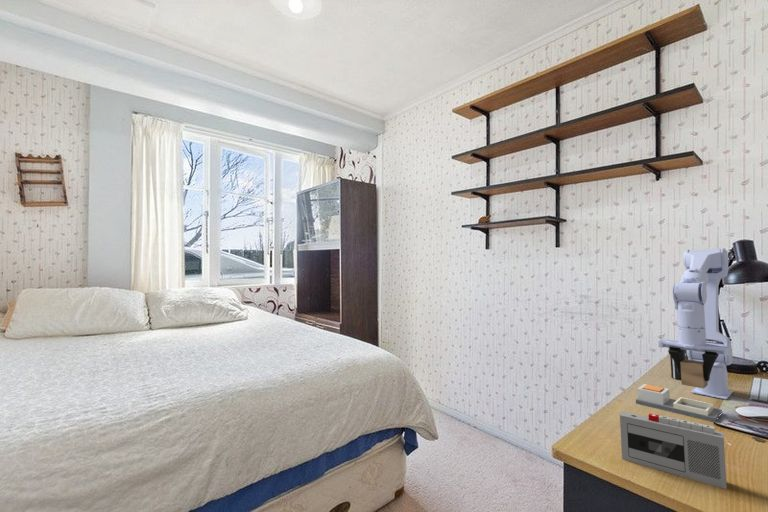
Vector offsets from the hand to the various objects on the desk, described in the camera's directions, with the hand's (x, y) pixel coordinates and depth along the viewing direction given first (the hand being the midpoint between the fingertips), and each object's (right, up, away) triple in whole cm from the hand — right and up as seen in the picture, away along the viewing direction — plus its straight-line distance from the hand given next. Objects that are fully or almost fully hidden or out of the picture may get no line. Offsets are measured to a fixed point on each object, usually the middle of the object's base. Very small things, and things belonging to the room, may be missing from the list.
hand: (694, 378), depth 96 cm
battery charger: (+20, -10, +28) cm, 35 cm away
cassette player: (-27, -9, -26) cm, 39 cm away
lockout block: (0, -2, 0) cm, 2 cm away
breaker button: (-6, -8, +7) cm, 12 cm away
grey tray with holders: (-3, -9, +2) cm, 10 cm away
